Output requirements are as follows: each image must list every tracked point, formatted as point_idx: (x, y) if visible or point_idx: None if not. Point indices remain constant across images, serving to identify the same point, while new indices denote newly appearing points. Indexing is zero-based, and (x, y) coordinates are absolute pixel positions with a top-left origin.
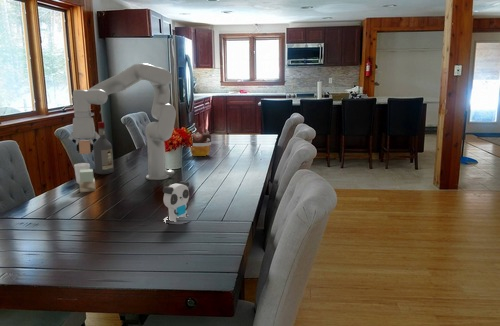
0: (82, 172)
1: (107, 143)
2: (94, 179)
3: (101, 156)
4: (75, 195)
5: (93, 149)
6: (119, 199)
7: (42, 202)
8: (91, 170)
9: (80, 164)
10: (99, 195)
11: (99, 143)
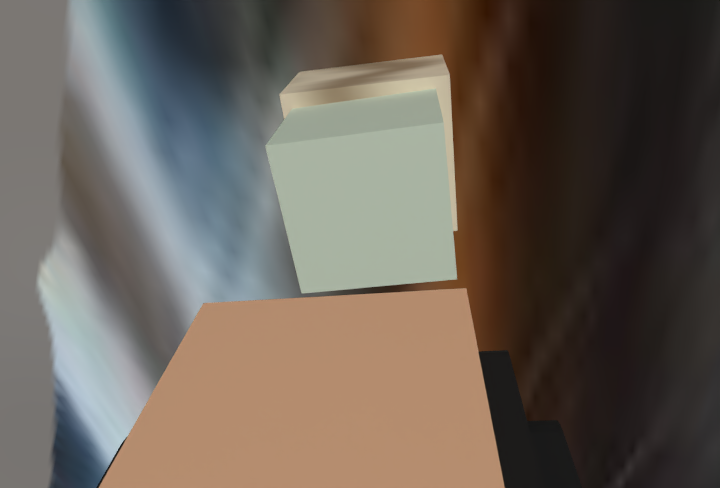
0: (333, 288)
1: None
2: (452, 139)
3: None
4: (311, 293)
5: (556, 434)
6: (633, 435)
7: (144, 398)
8: (434, 217)
9: None
10: (495, 326)
11: None
